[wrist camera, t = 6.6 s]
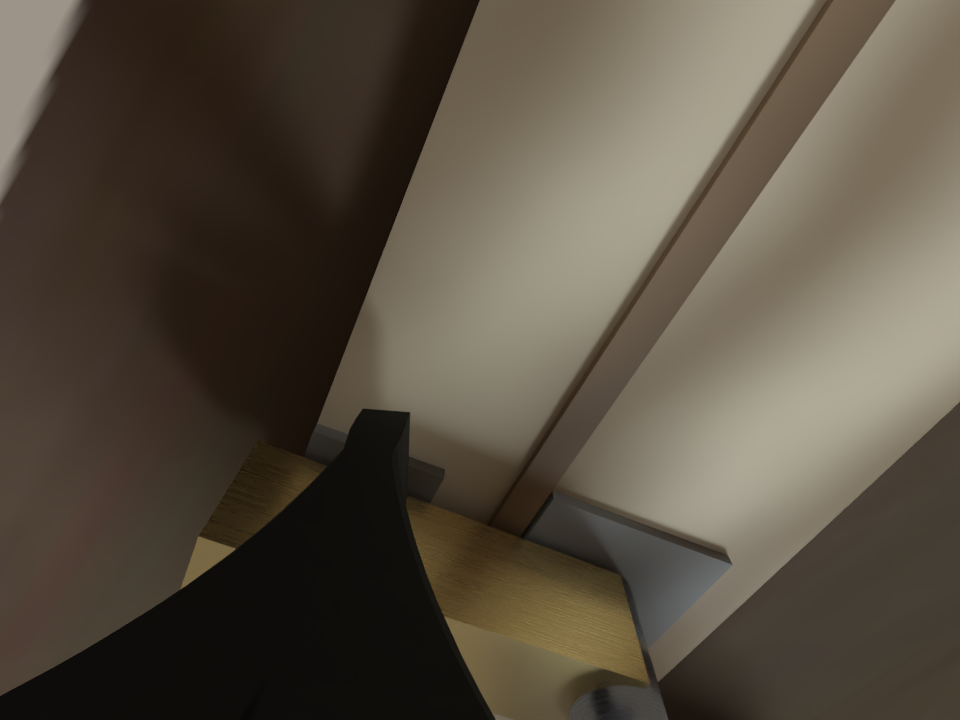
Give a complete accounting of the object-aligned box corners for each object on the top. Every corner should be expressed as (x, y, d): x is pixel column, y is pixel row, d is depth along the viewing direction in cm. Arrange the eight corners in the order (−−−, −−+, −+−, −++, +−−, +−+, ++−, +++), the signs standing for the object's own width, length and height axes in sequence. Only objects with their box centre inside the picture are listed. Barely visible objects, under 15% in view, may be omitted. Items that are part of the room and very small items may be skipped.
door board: (1166, 124, 9) (1276, 131, 8) (580, 710, 19) (588, 759, 17) (593, -282, 7) (618, -363, 6) (245, 616, 16) (224, 663, 15)
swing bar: (653, 583, 13) (702, 734, 10) (600, 637, 14) (632, 788, 11) (260, 437, 11) (176, 572, 8) (232, 512, 12) (148, 657, 9)
